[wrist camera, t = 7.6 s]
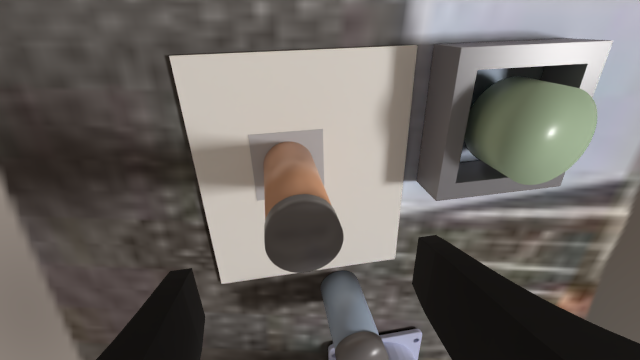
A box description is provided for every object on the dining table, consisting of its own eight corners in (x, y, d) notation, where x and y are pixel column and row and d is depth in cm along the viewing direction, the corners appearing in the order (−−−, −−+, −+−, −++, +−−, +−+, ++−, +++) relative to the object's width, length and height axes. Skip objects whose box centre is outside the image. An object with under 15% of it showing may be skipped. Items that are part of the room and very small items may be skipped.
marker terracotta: (315, 184, 18) (344, 265, 12) (266, 191, 18) (270, 278, 12) (312, 137, 17) (342, 202, 11) (258, 144, 17) (258, 215, 11)
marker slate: (357, 296, 24) (386, 375, 18) (320, 302, 23) (338, 385, 18) (359, 267, 22) (390, 343, 17) (319, 273, 22) (338, 352, 17)
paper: (393, 256, 22) (395, 259, 22) (221, 281, 21) (221, 284, 20) (415, 45, 16) (417, 45, 16) (170, 55, 14) (168, 56, 14)
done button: (531, 157, 19) (575, 179, 16) (457, 165, 18) (491, 189, 15) (556, 73, 16) (613, 83, 14) (473, 79, 16) (516, 90, 13)
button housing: (528, 168, 21) (560, 186, 19) (416, 181, 20) (436, 201, 18) (568, 38, 17) (613, 40, 15) (433, 44, 16) (461, 47, 14)
